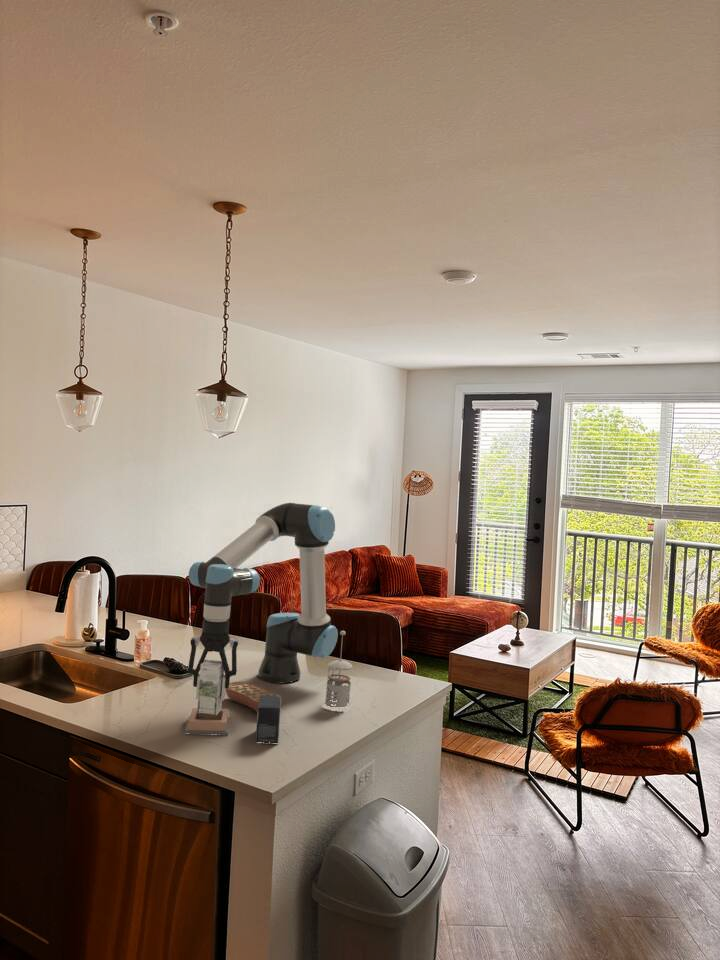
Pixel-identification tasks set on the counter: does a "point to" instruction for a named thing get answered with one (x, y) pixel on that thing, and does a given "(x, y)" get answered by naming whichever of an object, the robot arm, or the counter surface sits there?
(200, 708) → the syrup box
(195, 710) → the pink square open tray
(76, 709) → the counter surface
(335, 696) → the french press
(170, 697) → the counter surface
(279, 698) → the small box
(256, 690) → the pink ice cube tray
